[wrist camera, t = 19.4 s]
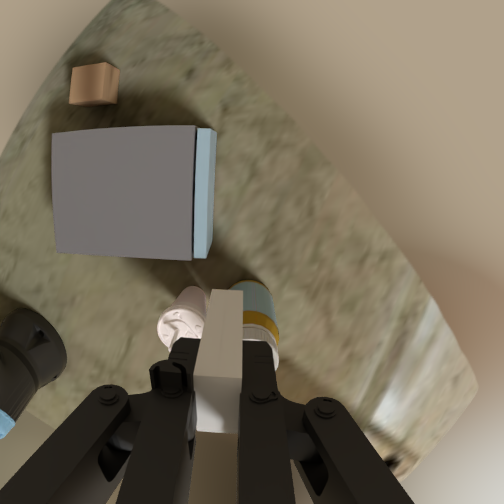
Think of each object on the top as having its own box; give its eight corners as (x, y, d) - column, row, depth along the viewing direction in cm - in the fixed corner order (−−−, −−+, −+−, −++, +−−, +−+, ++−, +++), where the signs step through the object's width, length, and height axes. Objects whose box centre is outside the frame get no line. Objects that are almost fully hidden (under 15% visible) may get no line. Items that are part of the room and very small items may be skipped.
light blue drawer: (92, 235, 43) (68, 250, 36) (90, 135, 39) (64, 134, 32) (212, 240, 44) (206, 258, 37) (216, 132, 39) (210, 128, 32)
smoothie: (182, 269, 45) (158, 317, 32) (222, 289, 46) (214, 343, 33) (165, 304, 47) (139, 359, 34) (203, 323, 48) (191, 382, 35)
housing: (83, 236, 43) (56, 252, 36) (81, 134, 39) (52, 133, 31) (200, 241, 44) (191, 260, 36) (204, 130, 40) (194, 125, 32)
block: (85, 107, 38) (69, 103, 33) (89, 74, 36) (72, 67, 32) (116, 103, 38) (102, 99, 33) (120, 70, 36) (105, 62, 32)
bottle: (227, 275, 46) (219, 331, 31) (276, 281, 46) (288, 338, 32) (221, 318, 48) (213, 383, 33) (268, 323, 48) (276, 389, 34)
